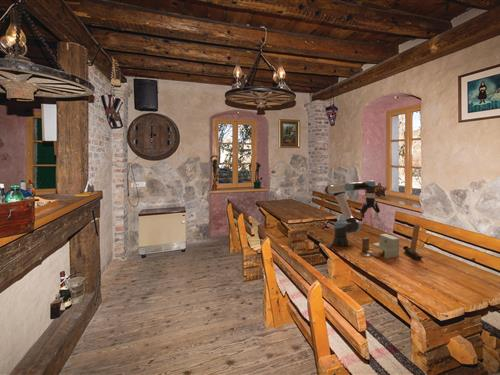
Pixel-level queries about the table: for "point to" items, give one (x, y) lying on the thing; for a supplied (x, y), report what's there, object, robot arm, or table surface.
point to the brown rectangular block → (367, 247)
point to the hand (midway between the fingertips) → (369, 220)
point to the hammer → (413, 243)
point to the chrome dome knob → (367, 255)
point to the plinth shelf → (388, 245)
